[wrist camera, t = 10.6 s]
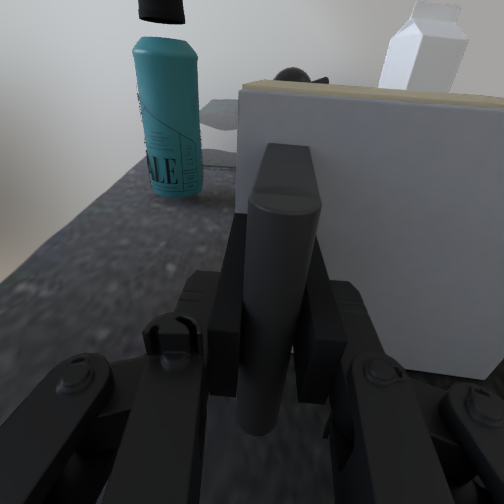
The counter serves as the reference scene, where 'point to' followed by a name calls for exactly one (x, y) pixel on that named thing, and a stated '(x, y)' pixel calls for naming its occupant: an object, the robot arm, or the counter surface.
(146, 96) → the beverage bottle
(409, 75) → the milk
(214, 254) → the counter surface
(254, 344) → the oven door
